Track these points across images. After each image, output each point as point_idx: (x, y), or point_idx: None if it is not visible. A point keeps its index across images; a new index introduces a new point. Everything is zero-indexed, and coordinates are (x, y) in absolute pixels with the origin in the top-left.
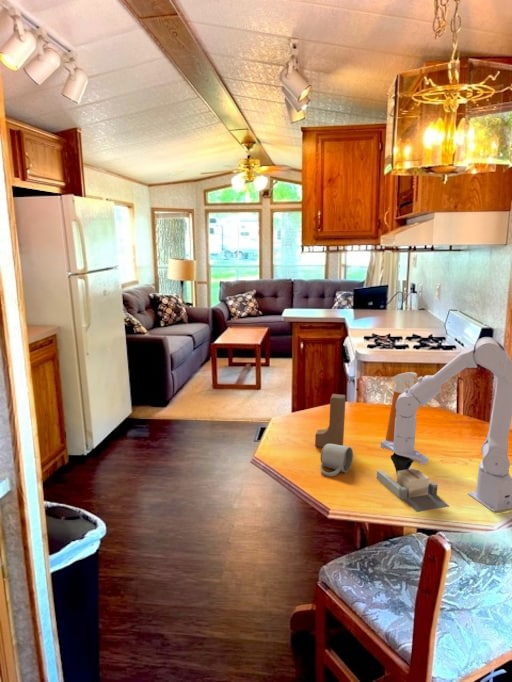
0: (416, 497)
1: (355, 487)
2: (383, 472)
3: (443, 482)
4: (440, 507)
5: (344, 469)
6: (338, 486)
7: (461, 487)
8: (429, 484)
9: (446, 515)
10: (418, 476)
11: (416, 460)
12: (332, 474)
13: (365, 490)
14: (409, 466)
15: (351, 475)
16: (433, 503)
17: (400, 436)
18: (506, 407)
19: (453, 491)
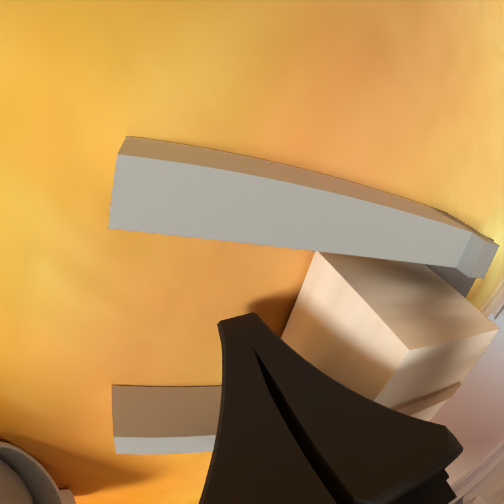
0: None
1: (168, 473)
2: (155, 440)
3: (405, 14)
4: (473, 280)
5: (10, 453)
6: (142, 493)
7: (474, 9)
8: (459, 270)
9: (485, 288)
10: (449, 381)
11: (489, 465)
12: (74, 499)
13: (206, 460)
14: (346, 396)
15: (60, 455)
16: (453, 287)
17: None
18: None
19: (477, 89)
